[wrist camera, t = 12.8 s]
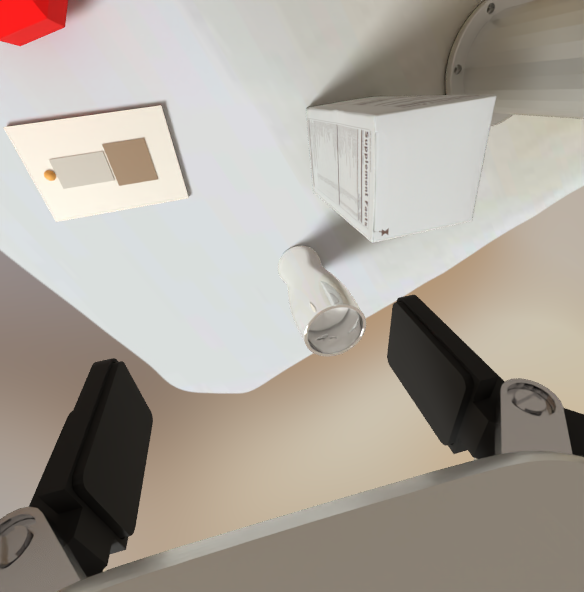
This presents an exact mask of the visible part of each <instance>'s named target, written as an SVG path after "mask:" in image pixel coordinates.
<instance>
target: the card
mask: <svg viewBox="0 0 584 592" xmlns="http://www.w3.org/2000/svg"><path fill="white" fill-rule="evenodd" d="M3 128H4V129H5V131H6V133H7V135H8V137H9V138H10V140H11V142H12V144H13V146H14V147H15V149H16V151H17V153H18V155H19V156H20V158H21V160H22V162H23V164H24V165H25V167H26V169H27V171H28V172H29V174H30V176H31V178H32V180H33V181H34V183H35V185H36V187H37V189H38V190H39V192H40V194H41V196H42V198H43V199H44V201H45V203H46V205H47V207H48V208H49V210H50V212H51V214H52V216H53V217H54V219H55V221H56V222H59V221H64V220H70V219H75V218H81V217H87V216H92V215H98V214H103V213H109V212H115V211H120V210H126V209H131V208H137V207H142V206H148V205H154V204H159V203H165V202H170V201H176V200H182V199H187V198H189V196H188V193H187V189H186V186H185V182H184V179H183V176H182V172H181V169H180V166H179V162H178V159H177V155H176V152H175V149H174V145H173V142H172V139H171V135H170V132H169V128H168V125H167V122H166V118H165V115H164V112H163V108H162V105H159V106H152V107H145V108H138V109H131V110H123V111H116V112H109V113H102V114H95V115H87V116H80V117H73V118H66V119H59V120H52V121H44V122H37V123H30V124H23V125H16V126H8V127H3Z"/></svg>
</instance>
